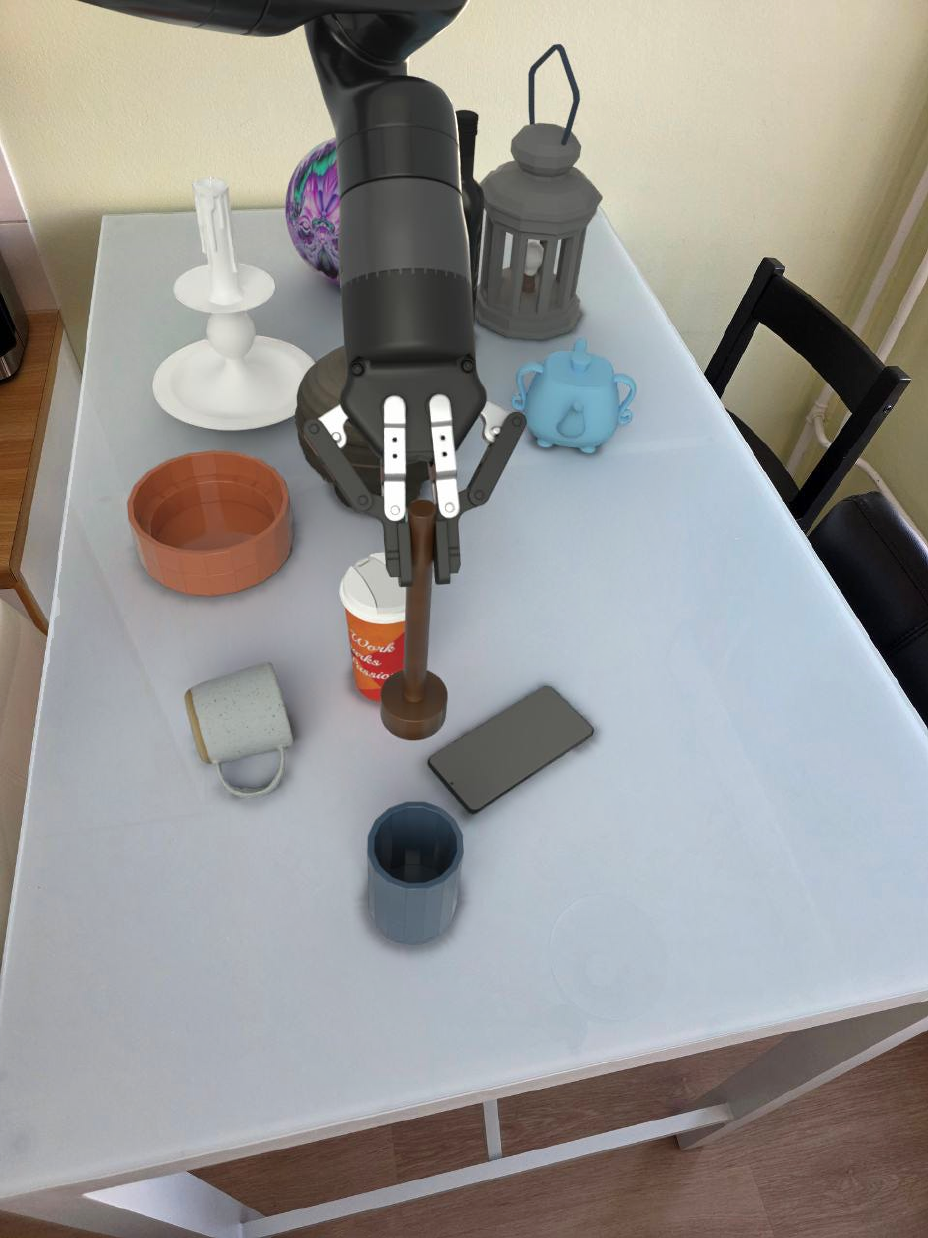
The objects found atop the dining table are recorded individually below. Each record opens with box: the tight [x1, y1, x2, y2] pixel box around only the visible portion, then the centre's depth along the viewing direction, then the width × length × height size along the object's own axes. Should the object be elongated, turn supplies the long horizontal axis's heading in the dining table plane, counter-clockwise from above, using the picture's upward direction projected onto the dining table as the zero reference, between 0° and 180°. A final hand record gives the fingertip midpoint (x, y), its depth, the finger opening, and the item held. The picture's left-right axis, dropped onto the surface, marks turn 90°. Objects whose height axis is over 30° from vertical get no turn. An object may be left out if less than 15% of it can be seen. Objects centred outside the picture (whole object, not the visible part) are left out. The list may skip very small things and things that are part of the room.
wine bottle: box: [455, 109, 485, 322], centre depth 118 cm, size 6×6×30 cm
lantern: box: [475, 43, 604, 341], centre depth 123 cm, size 17×17×35 cm
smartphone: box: [427, 685, 595, 815], centre depth 84 cm, size 7×1×15 cm
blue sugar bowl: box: [510, 337, 638, 454], centre depth 112 cm, size 13×14×11 cm
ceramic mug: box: [184, 661, 294, 799], centre depth 79 cm, size 11×8×8 cm
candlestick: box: [152, 173, 316, 431], centre depth 107 cm, size 21×25×28 cm
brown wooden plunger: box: [379, 498, 449, 741], centre depth 59 cm, size 5×5×20 cm
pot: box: [294, 345, 430, 509], centre depth 100 cm, size 18×18×20 cm
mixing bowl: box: [126, 449, 294, 597], centre depth 97 cm, size 16×16×6 cm
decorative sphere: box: [284, 136, 340, 286], centre depth 131 cm, size 20×20×20 cm
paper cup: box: [338, 552, 406, 703], centre depth 83 cm, size 8×8×14 cm
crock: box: [366, 801, 465, 946], centre depth 70 cm, size 7×7×10 cm
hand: (424, 584), depth 53 cm, fingers closed on brown wooden plunger
